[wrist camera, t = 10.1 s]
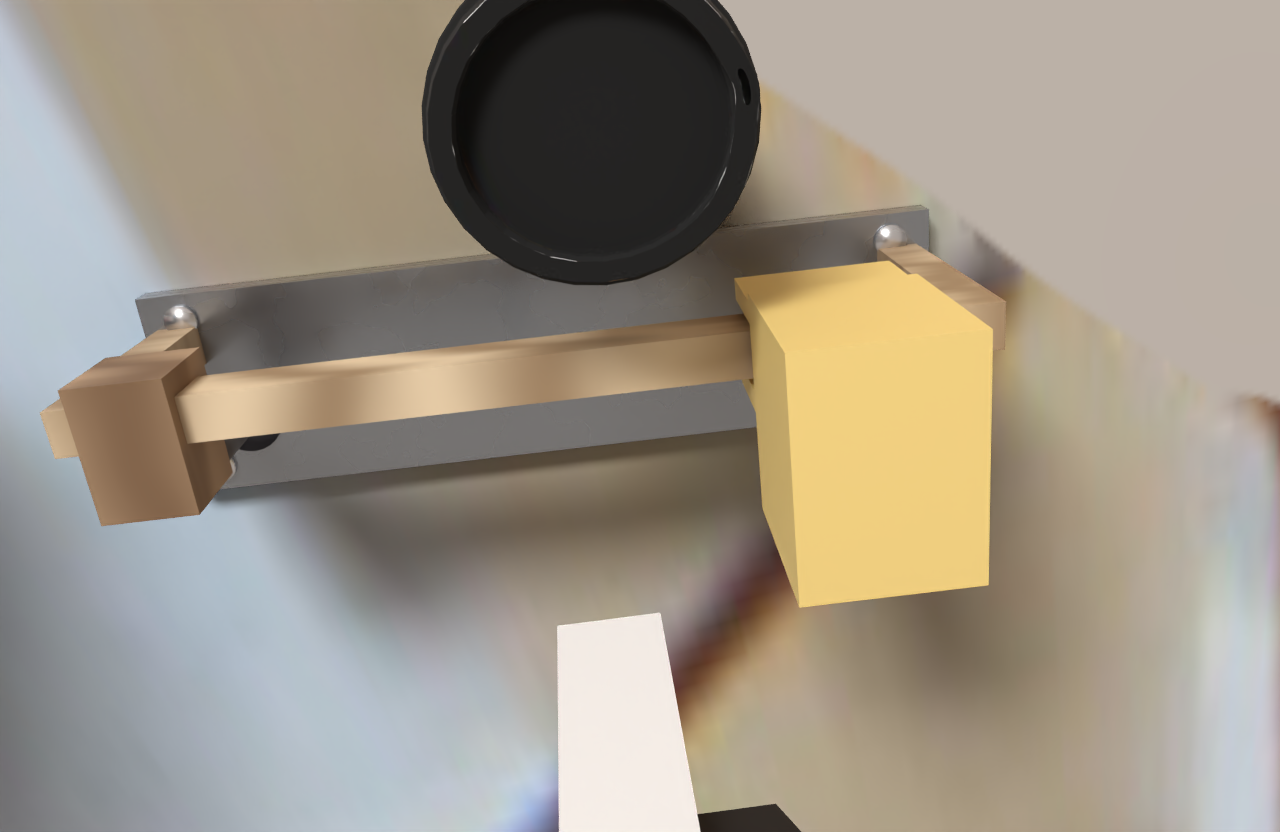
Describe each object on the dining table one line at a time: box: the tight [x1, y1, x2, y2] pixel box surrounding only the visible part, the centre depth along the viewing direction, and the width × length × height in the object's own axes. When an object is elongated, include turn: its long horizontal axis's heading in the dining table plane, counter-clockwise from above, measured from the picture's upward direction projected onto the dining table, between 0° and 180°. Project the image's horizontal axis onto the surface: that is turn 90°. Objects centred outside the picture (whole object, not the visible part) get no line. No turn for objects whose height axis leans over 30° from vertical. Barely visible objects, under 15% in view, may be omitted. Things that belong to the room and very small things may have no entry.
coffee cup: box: [422, 0, 761, 285], centre depth 31 cm, size 8×8×15 cm
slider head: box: [734, 261, 993, 608], centre depth 33 cm, size 5×7×15 cm
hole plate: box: [135, 205, 929, 489], centre depth 41 cm, size 30×8×1 cm, turn 96°
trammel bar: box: [40, 244, 1006, 526], centre depth 35 cm, size 29×5×10 cm, turn 96°
